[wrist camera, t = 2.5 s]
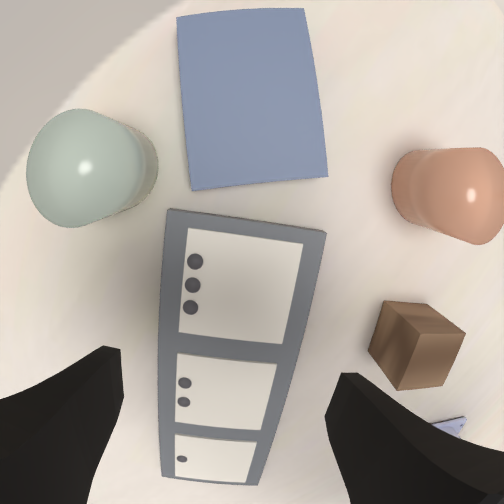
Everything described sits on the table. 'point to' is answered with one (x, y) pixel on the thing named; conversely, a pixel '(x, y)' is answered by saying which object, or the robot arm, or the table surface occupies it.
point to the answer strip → (229, 340)
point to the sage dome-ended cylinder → (88, 168)
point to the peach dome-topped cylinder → (451, 192)
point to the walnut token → (414, 345)
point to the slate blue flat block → (250, 97)
